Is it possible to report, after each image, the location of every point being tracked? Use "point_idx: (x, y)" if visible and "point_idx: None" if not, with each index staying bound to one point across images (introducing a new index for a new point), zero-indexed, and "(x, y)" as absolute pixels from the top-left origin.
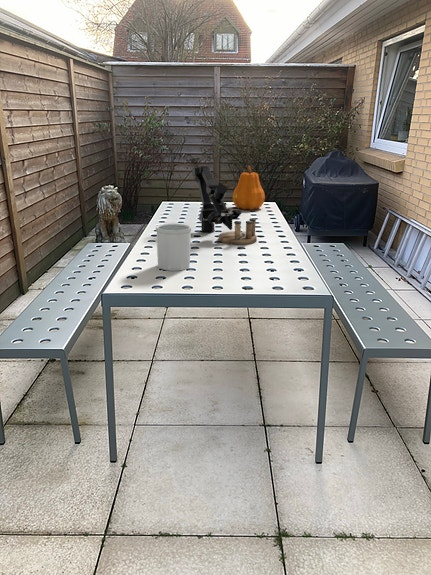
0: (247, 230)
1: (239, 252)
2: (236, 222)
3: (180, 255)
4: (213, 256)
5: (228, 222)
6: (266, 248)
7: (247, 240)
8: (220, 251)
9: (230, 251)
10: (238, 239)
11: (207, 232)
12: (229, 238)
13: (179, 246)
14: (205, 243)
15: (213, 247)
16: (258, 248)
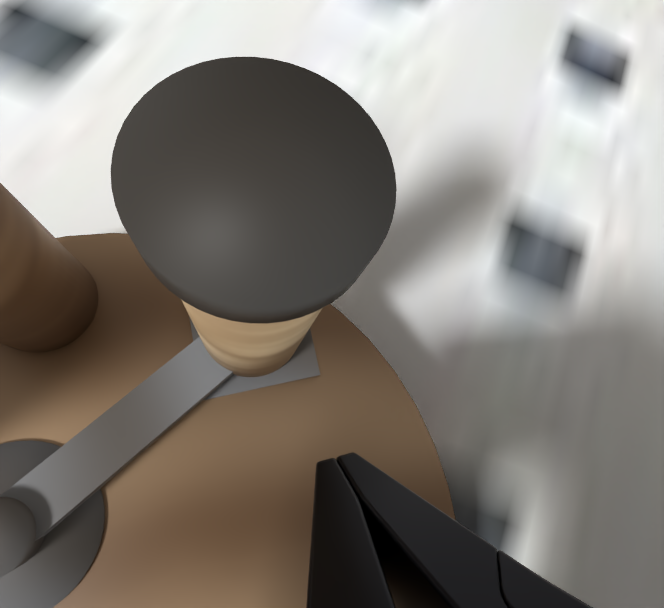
0: (23, 208)
1: (391, 35)
2: (357, 119)
3: None
4: (636, 44)
5: (485, 554)
6: (23, 17)
7: (121, 237)
8: (549, 138)
9: (459, 98)
10: None
11: None
12: (357, 409)
13: None
14: (635, 516)
15: (581, 298)
16: (117, 57)
